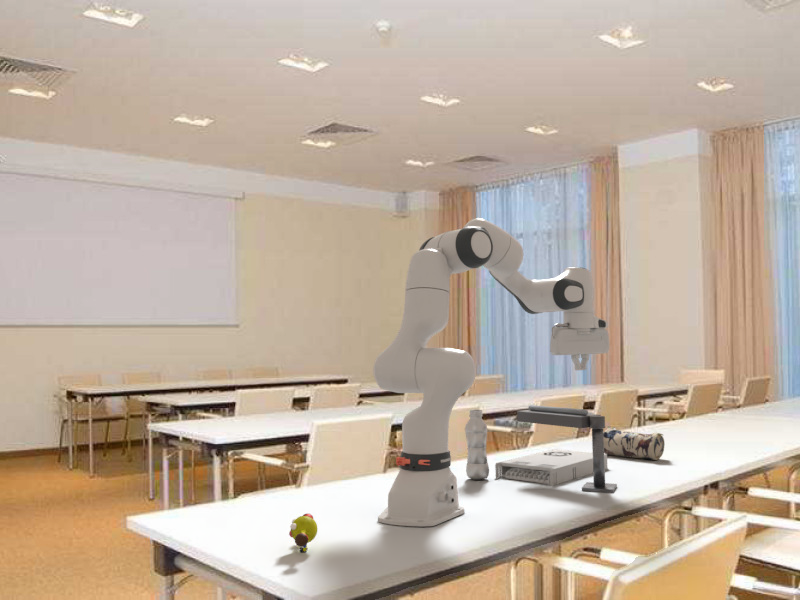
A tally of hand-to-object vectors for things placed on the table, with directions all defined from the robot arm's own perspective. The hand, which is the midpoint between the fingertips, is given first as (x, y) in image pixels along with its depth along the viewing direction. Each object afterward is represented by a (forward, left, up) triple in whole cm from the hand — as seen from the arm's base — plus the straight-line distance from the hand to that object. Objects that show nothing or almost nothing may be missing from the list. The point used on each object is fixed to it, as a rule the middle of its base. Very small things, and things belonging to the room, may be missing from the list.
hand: (580, 370), depth 218 cm
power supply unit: (+5, +10, -32) cm, 34 cm away
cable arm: (-9, +4, -15) cm, 18 cm away
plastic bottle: (-12, +29, -31) cm, 44 cm away
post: (-15, -6, -31) cm, 35 cm away
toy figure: (-92, +40, -31) cm, 105 cm away
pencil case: (+40, -9, -31) cm, 52 cm away
